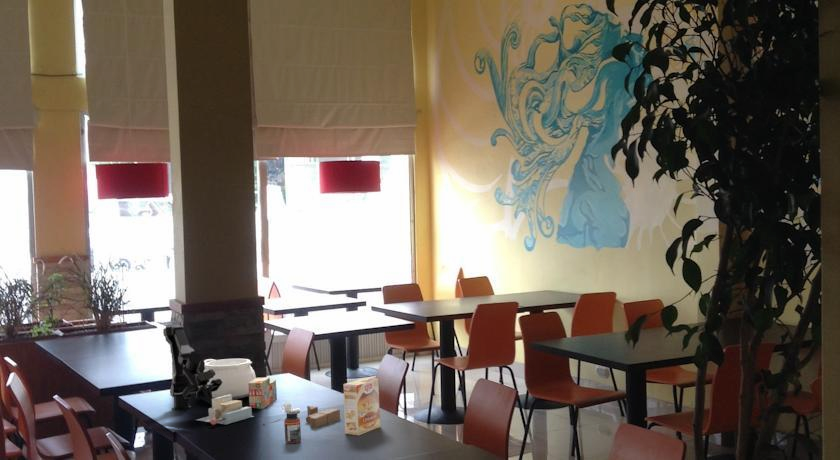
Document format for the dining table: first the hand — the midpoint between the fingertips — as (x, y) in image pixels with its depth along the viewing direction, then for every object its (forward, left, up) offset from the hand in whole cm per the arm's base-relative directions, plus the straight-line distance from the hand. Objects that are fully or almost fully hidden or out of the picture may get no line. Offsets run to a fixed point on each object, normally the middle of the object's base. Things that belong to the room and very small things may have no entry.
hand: (212, 403), depth 371 cm
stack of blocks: (-1, +31, -7) cm, 32 cm away
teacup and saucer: (+26, +22, -7) cm, 34 cm away
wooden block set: (+45, +14, -7) cm, 48 cm away
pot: (-31, +38, -7) cm, 49 cm away
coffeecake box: (+74, +12, -7) cm, 75 cm away
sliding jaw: (+8, 0, -5) cm, 9 cm away
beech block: (+12, 0, -6) cm, 13 cm away
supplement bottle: (+61, -14, -7) cm, 63 cm away
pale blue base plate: (+8, -3, -7) cm, 11 cm away
